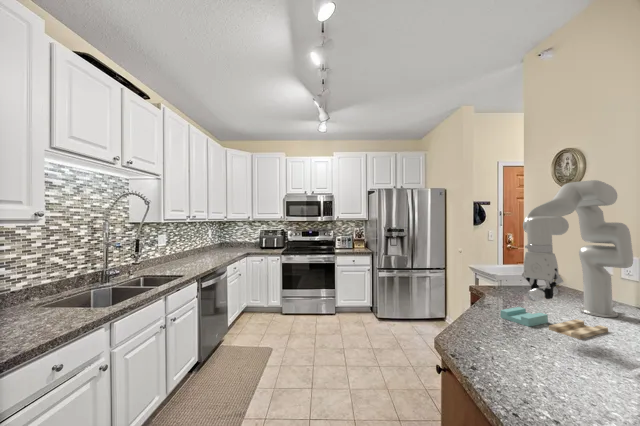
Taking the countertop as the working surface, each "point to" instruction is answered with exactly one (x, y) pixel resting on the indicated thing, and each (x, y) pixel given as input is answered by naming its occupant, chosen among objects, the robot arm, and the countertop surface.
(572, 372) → the countertop surface
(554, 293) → the axle
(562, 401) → the countertop surface
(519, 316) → the cradle
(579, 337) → the wooden grooved block
